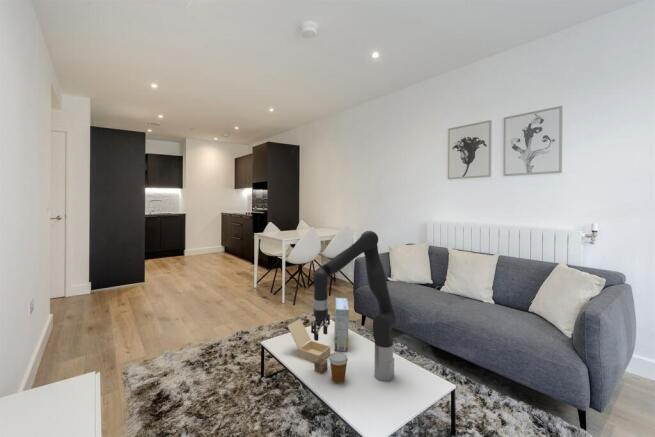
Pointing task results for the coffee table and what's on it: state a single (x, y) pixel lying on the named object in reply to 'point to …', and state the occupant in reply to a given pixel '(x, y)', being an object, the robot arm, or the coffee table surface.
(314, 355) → the base
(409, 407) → the coffee table surface
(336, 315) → the snack box
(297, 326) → the mailer lid
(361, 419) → the coffee table surface
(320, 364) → the walnut block
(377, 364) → the robot arm
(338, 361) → the disposable coffee cup
